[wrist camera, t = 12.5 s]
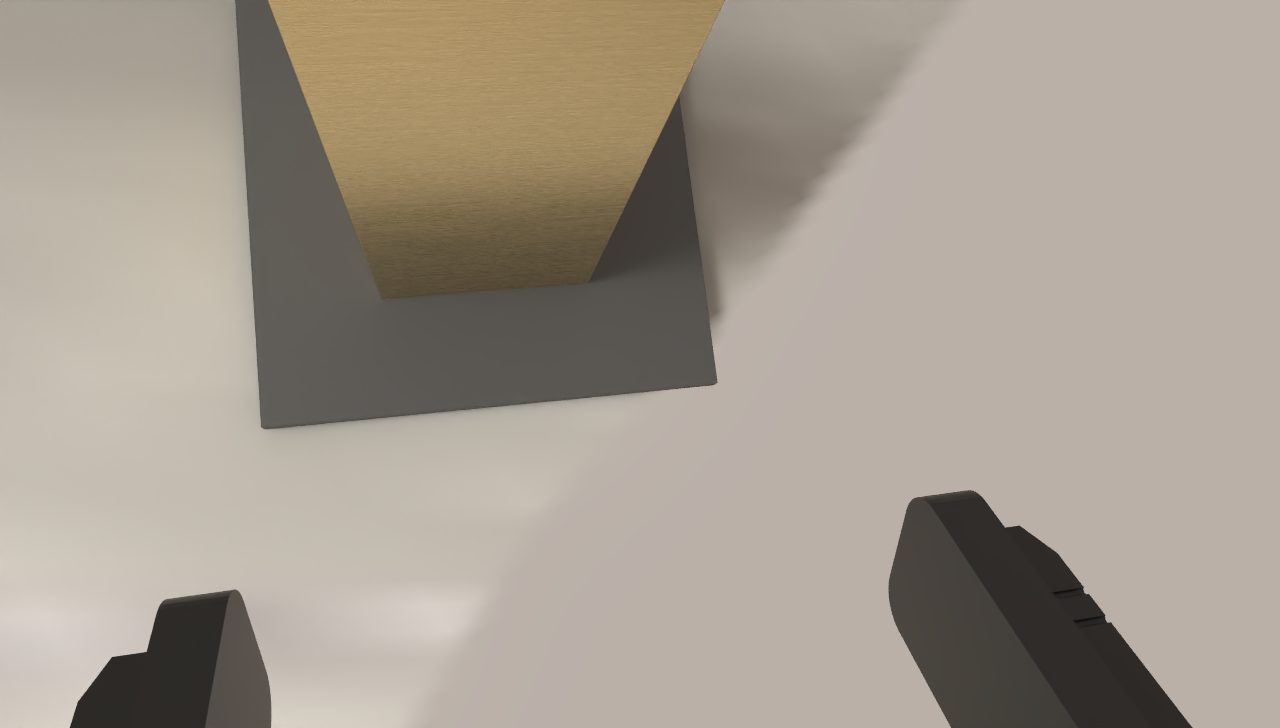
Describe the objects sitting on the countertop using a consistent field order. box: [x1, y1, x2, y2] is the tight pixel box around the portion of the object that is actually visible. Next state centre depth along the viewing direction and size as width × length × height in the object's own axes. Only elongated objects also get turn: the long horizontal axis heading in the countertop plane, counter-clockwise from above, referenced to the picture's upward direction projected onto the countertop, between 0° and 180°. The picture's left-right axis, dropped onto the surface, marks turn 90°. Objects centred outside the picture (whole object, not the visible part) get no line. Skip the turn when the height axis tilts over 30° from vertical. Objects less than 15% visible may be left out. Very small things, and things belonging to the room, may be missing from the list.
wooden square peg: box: [268, 0, 725, 299], centre depth 15 cm, size 5×5×14 cm
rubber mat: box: [235, 0, 717, 429], centre depth 22 cm, size 10×10×1 cm
